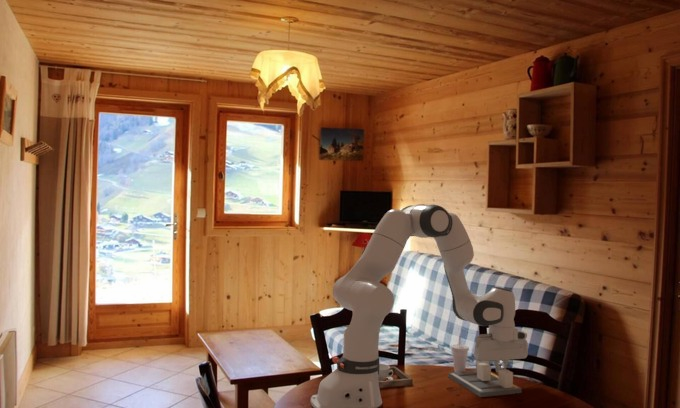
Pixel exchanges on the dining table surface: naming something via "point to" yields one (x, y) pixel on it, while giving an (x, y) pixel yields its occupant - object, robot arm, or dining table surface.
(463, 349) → the smoothie
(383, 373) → the teacup
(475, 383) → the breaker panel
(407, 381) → the square wooden tray
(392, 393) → the dining table surface
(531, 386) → the dining table surface
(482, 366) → the white rectangular block
